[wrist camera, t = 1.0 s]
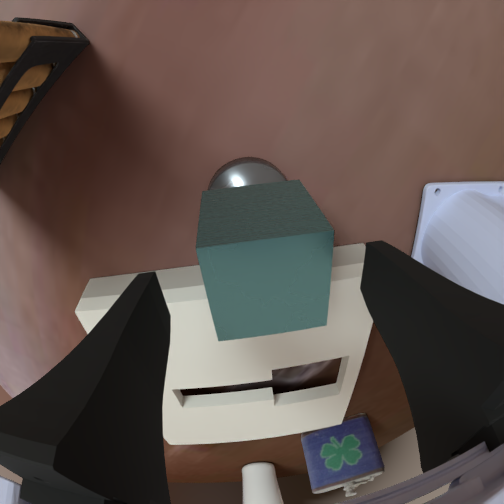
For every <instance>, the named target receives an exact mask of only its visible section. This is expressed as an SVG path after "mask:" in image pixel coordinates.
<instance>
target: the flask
mask: <svg viewBox="0 0 504 504" xmlns="http://www.w3.org/2000/svg"><path fill="white" fill-rule="evenodd" d="M301 441H302V446H303V450H304V454H305V459H306V463H307V468H308V473H309V478H310V482H311V488H312V492H313V493H323V492H326V491H329V490H332V489H336V488H339V487H342V486H344V490H346V497H347V496H352V495H356V494H357V493H356V492H355V490H356V488H357V487H358V486H359V485H360V484H363V483H367V482H362V481H363V480H367V479H369V480H368V481H373V480H374V477H375V476H378V475H380V474H381V473H383V472H384V464H383V462H382V458H381V455H380V452H379V449H378V446H377V442H376V440H375V437H374V433H373V431H372V428H371V425H370V421H369V419H368V417H367V415H366V413H360V414H357V415H353V416H350V417H347V418H344V419H343V421H342V424H339V425H335V426H331V427H326V428H321V429H317V430H312V431H307V432H304V433H302V434H301Z"/></svg>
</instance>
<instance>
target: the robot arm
mask: <svg viewBox="0 0 504 504" xmlns="http://www.w3.org/2000/svg"><path fill="white" fill-rule="evenodd" d="M436 189H437V191H436V193H435V190H436ZM360 290H361V293H362V295H363V298H364V301H365V304H366V306H367V309H368V311H369V313H370V315H371V317H372V319H373V321H374V323H375V325H376V327H377V329H378V330H379V332H380V334H381V336H382V338H383V340H384V342H385V344H386V346H387V348H388V349H389V351H390V353H391V355H392V357H393V359H394V362H395V364H396V366H397V368H398V371H399V374H400V377H401V379H402V382H403V385H404V388H405V391H406V395H407V398H408V402H409V405H410V409H411V412H412V417H413V421H414V425H415V430H416V434H417V440H418V447H419V453H420V461H421V468H422V471H423V474H421V475H418V476H416V477H414V478H411V479H409V480H406V481H404V482H401V483H399V484H396V485H394V486H391V487H388V488H385V489H382V490H379V491H377V492H374V493H370V494H368V495H364V496H361V497H358V498H354V499H351V500H347V501H343V502H340V503H336V504H405V503H407V502H410V501H412V500H415V499H416V498H419V497H421V496H424V495H426V494H428V493H430V492H432V491H434V490H436V489H438V488H440V487H442V486H444V485H446V484H448V483H450V482H451V484H450V486H449V490H448V491H447V492H446V493H444V494H442V495H440V496H438V497H436V498H435V499H432V500H430V501H428V502H426V503H424V504H504V181H496V182H443V183H428V184H427V185H425V187H424V189H423V195H422V202H421V208H420V214H419V220H418V225H417V231H416V236H415V241H414V246H413V250H412V255H411V257H410V256H409V255H407V254H405V253H404V252H402V251H400V250H399V249H397V248H395V247H393V246H392V245H390V244H388V243H386V242H384V241H375V242H367V243H366V249H365V257H364V264H363V271H362V278H361V284H360ZM170 333H171V315H170V312H169V309H168V307H167V304H166V301H165V298H164V295H163V292H162V290H161V287H160V284H159V281H158V278H157V275H156V272H155V271H153V272H146V273H139V274H138V275H137V276H136V277H135V278H134V279H133V280H132V282H131V283H130V284H129V285H128V287H127V288H126V289H125V290H124V292H123V293H122V294H121V295H120V297H119V298H118V299H117V300H116V301H115V303H114V304H113V305H112V306H111V308H110V309H109V310H108V311H107V313H106V314H105V315H104V316H103V317H102V318H101V320H100V321H99V322H98V323H97V324H96V325H95V327H94V328H93V329H92V330H91V331H90V332H89V334H88V335H87V336H86V337H85V338H84V339H83V340H82V341H81V342H80V343H79V344H78V345H77V346H76V347H75V348H74V349H73V350H72V351H71V352H70V353H69V354H68V355H67V356H66V357H65V358H64V359H63V360H62V361H61V362H59V363H58V364H57V365H56V366H55V367H54V368H53V369H51V370H50V371H49V372H48V373H47V374H46V375H45V376H43V377H42V378H41V379H39V380H38V381H37V382H36V383H34V384H33V385H32V386H30V387H29V388H27V389H26V390H25V391H23V392H22V393H20V394H19V395H17V396H16V397H14V398H13V399H11V400H10V401H8V402H6V403H5V404H3V405H1V406H0V464H1V465H2V466H4V467H6V468H7V469H9V470H10V471H12V472H13V473H15V474H17V475H19V476H20V477H22V478H23V481H22V485H21V484H18V483H16V482H14V481H12V480H9V479H7V478H4V477H2V476H0V504H171V502H170V496H169V490H168V484H167V476H166V467H165V458H164V444H163V413H162V407H163V393H164V385H165V377H166V369H167V362H168V355H169V347H170Z"/></svg>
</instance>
